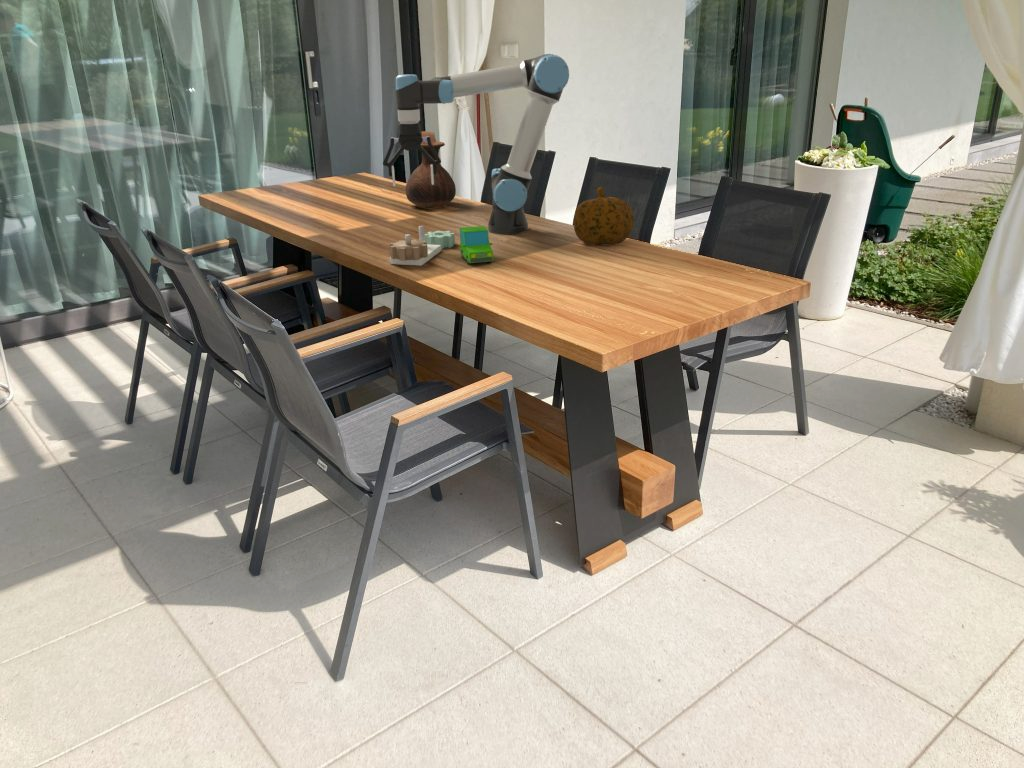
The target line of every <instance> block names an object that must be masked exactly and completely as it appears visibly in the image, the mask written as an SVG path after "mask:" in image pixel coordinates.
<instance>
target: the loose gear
mask: <svg viewBox="0 0 1024 768" xmlns="http://www.w3.org/2000/svg"><path fill="white" fill-rule="evenodd" d="M424 236H425V242H427V244H431V245H441V250H442V249H444V248H449V249H450V248H453V247H454V246H455V245H456V241H455V239H456V237H455V232H452V230H451V231H450V230H445V231H444V230H443V231H442V230H436V231H428V232H426V233H424Z"/></svg>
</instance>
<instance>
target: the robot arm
mask: <svg viewBox="0 0 1024 768" xmlns="http://www.w3.org/2000/svg"><path fill="white" fill-rule="evenodd" d="M569 79H570V69H569V66H568V63H567V62H566V61H565V60H564V59H563V57H561V56H559V55H557V54H553V53H552V54H551V53H546V54H542V55H539V56H536V57H533V58H529V59H525V60H522V61H521V63H518V64H514V65H507V66H501V67H500V66H499V67H494V68H489V69H483V70H476V71H470V72H464V73H459V74H453V75H448V76H447V75H446V76H441V77H439V76H436V77H433V78H431V79H430V80H429V79H428V80H419V78H418V76H417V74H409V73H408V74H398V75H397V76H396V77H395V97H396V106H397V107H396V108H397V121H398V136H399V137H393V136H391V138H390V143H389V146H388V149H387V151H386V154H385V157H384V159H383V162H382V165H383V166H385V167H387V168H388V176H389V177H392V186H393V187H396V177H395V176H396V175H395V167H394V164H395V162H396V161H397V160H398V158H399V157H400V156H401V154H402V153H403V152H404V150H405V151H407V152H408V151H417V150H419V151H420V152H421V154H422V153H423V154H424V156H425V157H426V158H427V159H428V160H429V161H430V162H431V163H432V164H433V165H431V182H432V185H434V176H433V175H436V173H437V172H436V165H437V164H439V163H440V164H442V163H441V162H442V160H441V158H440V156H438V154H437V152H436V151H435V149H434V147H433V145H432V143H431V140H430V136H427V137H422V133H421V132H422V129H421V128H422V127H421V123H420V121H421V112H420V111H421V109H420V105H423V104H424V105H425V104H443V105H445V104H451V103H453V102H454V99H455V98H462V97H467V96H475V95H480V94H486V93H492V92H498V91H504V90H505V91H506V90H510V89H517V88H525V89H526V91H527V93H528V96H529V97H528V100H527V102H526V105H525V109H524V112H523V115H522V117H521V121H520V123H519V126H518V130H517V133H516V136H515V138H514V141H513V145H512V147H511V150H510V153H509V157H508V158H507V159H508V160H507V163H505V164H504V165H502V166H501V167H500V168H493V169H492V170H491V176H490V177H491V192H492V193H491V199H492V201H491V203H492V211H491V213H490V216H489V220H488V223H487V227H488V228H487V230H488V232H490V233H492V234H493V233H494V234H497V235H498V234H499V235H514V234H521V233H525V232H527V231H529V223H528V219H527V216H526V214H525V210H524V205H525V203H526V201H527V199H528V190H529V188H530V184H531V182H532V179H533V177H532V175H531V169H532V166H533V163H534V160H535V158H536V154H537V151H538V150H539V149H538V148H539V146H540V143H541V140H542V137H543V135H544V131H545V129H546V126H547V124H548V121H549V117H550V114H551V112H552V108H553V107H554V105H555V104H557V103H559V102H560V99H561V97H562V94H563V91H564V88H565V87H566V86H567V85H568V82H569ZM422 141H425V143H428V146H429V147H430V149H431V151H432V153H433V155H434V156H435V158H436V160H435V161H434V160H433V158H432V157H431V156H430V155H429V154H428V153H427V152H426V151H425V150H424V149H423V147H422V146H421V145H420V144H421V143H422ZM397 143H398V144H400V147H399V148H398V150H397V151H396V153H395V154H394V155H393V157H392V158H391V159H390V161H389V158H390V156H391V153H392V151H393V149H394V145H396V144H397ZM388 161H389V162H388Z"/></svg>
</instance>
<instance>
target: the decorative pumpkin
mask: <svg viewBox="0 0 1024 768" xmlns="http://www.w3.org/2000/svg"><path fill="white" fill-rule="evenodd" d="M596 190H597V197H596V198H593V199H587V200H584V201H582V202H580V203H579V205H578V206H577V208H575V209H576V210H574V211H575V212H574V215H573V229H574V233H575V235H576V237H577V239H579V240H580V241H581V242H582V243H584V244H588V245H591V246H597V247H598V246H603V245H609V246H610V245H611V246H612V245H613V246H614V245H616V244H620V243H622V242H624V241H625V240H626V239H627V238H628V237H629V235H630V234H631V233H632V230H633V228H634V222H635V220H634V219H635V218H634V212H633V210H632V208H631V206H630V205H629V204H628V203H627V202H626V201H625V200H623V199H621V198H618V197H613V196H606V195H605V191H604V187H602V186H600V187H599V186H598V188H597V189H596Z"/></svg>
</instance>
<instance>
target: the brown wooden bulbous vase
mask: <svg viewBox="0 0 1024 768" xmlns="http://www.w3.org/2000/svg"><path fill="white" fill-rule="evenodd" d="M421 136H422V137H427V136H430V140H431V143H432V145H433V147H434V149H435V151H436V152H437V154H438V156H439V155H440V154H439V153H440V149H441V148H442V147H445V145H446V144H445V142H443V141H437V139H436V137H435V136H436V135H435V132H434V131H425V130H424V131H421ZM420 145H421V146H422V147H423V149H424V150H425V151H426V152H427V153H428V154H429V155H430V156H431V157H432V158H433V160H434V161H435V160H436V158H435V156H434V155H433V153H432V151H431V149H430V147H429V146H428V143H425V141H422V143H421V144H420ZM421 157H422V158H421V159H422V160H421V164H420V165H419V166H417V167H416V168H415V169H414V170H413V172H412V173H410V176H409V178H408V180H407V182H406V184H405V195H406V198H407V200H408V202H410V203H411V204H413V205H415V206H417V207H418V208H421V209H441V208H442V209H443V208H446V207H447V206H448V205H449V204H450V203H452V201H454V199H455V197H456V193H457V192H456V190H457V189H456V184H455V181H454V179H453V178H452V176H451V174H450V173H449V172H448V171H447V169H446V168H444V166H442V163H439V164H437V165H436V172H437V173H436V175H433V176H434V185H432V182H431V165H433V164H432V163H431V162H430V161H429V160H428V159H427V158H426V157H425V156H424V154H423V153H422V152H421ZM439 157H440V156H439Z"/></svg>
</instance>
